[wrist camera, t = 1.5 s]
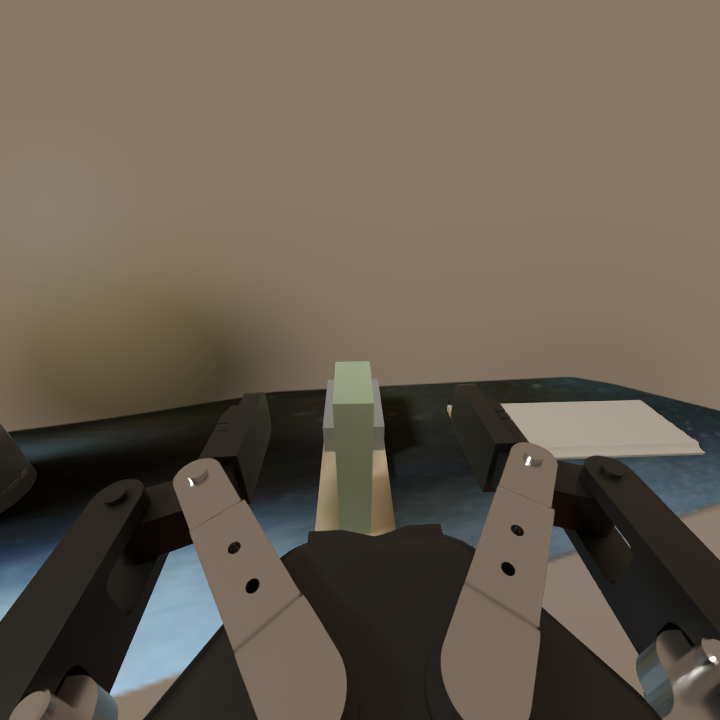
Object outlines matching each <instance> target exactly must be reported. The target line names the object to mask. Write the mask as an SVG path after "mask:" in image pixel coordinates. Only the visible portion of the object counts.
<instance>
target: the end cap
mask: <svg viewBox="0 0 720 720" xmlns="http://www.w3.org/2000/svg"><path fill="white" fill-rule="evenodd" d="M372 388H373V397H374V430H373V451H375V450H383V447H384V420H383V413H382V406H381V399H380V392H379V385H378V379H372ZM333 390H334V380H328V385H327V394H326V403H325V412H324V422H323V436H324V448H325V452H334V451H335V439H334V422H333V405H332V403H333Z"/></svg>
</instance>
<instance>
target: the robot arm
mask: <svg viewBox="0 0 720 720" xmlns="http://www.w3.org/2000/svg"><path fill="white" fill-rule="evenodd" d="M451 424H452V427H453V430H454V432H455V434H456V436H457V438H458V440H459V442H460V445H461V447H462V449H463V451H464V453H465V455H466V457H467V459H468V461H469V464H470V466H471V468H472V470H473V472H474V474H475V476H476V478H477V480H478V483H479V485H480V487H481V489H482V491H483V492H493V491H494V492H495V496H494V499H493V502H492V504H491V507H490V510H489V513H488V516H487V519H486V522H485V525H484V528H483V531H482V534H481V537H480V539H479V542H478V545H477V548H476V549H474V548H473V547H472V546H470V545H468V544H466V543H465V542H463V541H461V540H458V539H456V538H453V537H450V536H446V535H443V533H442V529H441V526H440V524H427V525H411V526H406V527H403V528H400V529H397V530H394V531H391V532H388V533H385V534H382V535H378V536H371V535H366V534H361V533H356V532H351V531H346V530H328V531H311V532H309V535H308V543H306V544H303V545H301V546H298V547H296V548H294V549H293V550H291V551H289V552H288V553H286V554H285V555H284V556H282V557H281V558H279V556H278V555H277V553H276V551H275V550H274V548H273V546H272V545H271V543H270V541H269V540H268V538H267V536H266V534H265V533H264V531H263V529H262V528H261V526H260V524H259V523H258V521H257V519H256V518H255V516H254V514H253V513H252V511H251V509H250V508H249V506H248V504H251V501H252V498H253V494H254V491H255V487H256V484H257V480H258V477H259V474H260V470H261V467H262V463H263V460H264V457H265V453H266V450H267V446H268V443H269V439H270V436H271V419H270V414H269V409H268V404H267V399H266V395H265V393H264V392H256V393H245V394H244V396H243V398H242V400H241V402H240V404H239V405H234V406H231V407H230V408H229V409H228V410H226V411H225V412H224V413H223V414H222V416H221V418H220V420H219V421H218V425H216V427H215V429H214V432H213V433H212V434H211V436H210V438H209V440H208V442H207V444H206V445H205V447H204V449H203V451H202V453H201V455H200V457H199V458H198V460H196V461H193V462H191V463H189V464H187V465H186V466H184V467H183V468H182V469H181V470H180V471H179V472H178V473H177V474H176V476H175V478H174V480H171V481H168V482H165V483H161V484H158V485H155V486H151V487H148V488H145V487H144V485H143V483H142V482H141V481H139V480H137V479H125V480H121V481H118V482H115V483H113V484H111V485H109V486H107V487H106V488H104V489H103V490H101V491H100V492H99V493H98V494H96V495H95V496H94V497H93V499H92V500H91V501H90V502H89V504H88V505H87V506H86V508H85V509H84V510H83V512H82V513H81V514H80V516H79V517H78V518H77V520H76V521H75V522H74V524H73V525H72V526H71V528H70V529H69V530H68V532H67V533H66V534H65V536H64V537H63V538H62V540H61V541H60V543H59V544H58V545H57V547H56V548H55V549H54V551H53V552H52V553H51V555H50V556H49V557H48V559H47V560H46V561H45V563H44V564H43V565H42V567H41V568H40V569H39V571H38V572H37V573H36V575H35V576H34V577H33V579H32V580H31V581H30V583H29V584H28V585H27V587H26V588H25V589H24V591H23V592H22V593H21V595H20V596H19V597H18V599H17V600H16V601H15V603H14V604H13V605H12V607H11V608H10V609H9V611H8V612H7V613H6V615H5V616H4V617H3V619H2V620H1V622H0V720H118V707H117V704H116V701H115V699H114V698H113V697H112V696H111V695H110V691H111V689H112V687H113V684H114V682H115V679H116V677H117V675H118V672H119V670H120V668H121V665H122V663H123V660H124V658H125V656H126V653H127V651H128V649H129V646H130V644H131V641H132V639H133V637H134V634H135V632H136V630H137V627H138V625H139V622H140V620H141V618H142V615H143V613H144V611H145V608H146V606H147V603H148V601H149V599H150V596H151V594H152V592H153V589H154V587H155V584H156V582H157V580H158V577H159V575H160V573H161V570H162V568H163V565H164V563H165V561H166V558H167V556H168V554H169V552H171V551H174V550H177V549H179V548H182V547H185V546H188V545H190V544H193V543H194V546H195V549H196V551H197V554H198V557H199V559H200V562H201V565H202V567H203V570H204V573H205V575H206V578H207V581H208V584H209V586H210V589H211V592H212V594H213V597H214V600H215V602H216V605H217V608H218V611H219V613H220V616H221V619H222V621H223V625H222V626H221V627H220V628H219V630H218V631H217V632H216V633H215V634H214V635H213V637H212V638H211V639H210V640H209V641H208V643H207V644H206V645H205V646H204V647H203V649H202V650H201V651H200V652H199V653H198V655H197V656H196V657H195V658H194V659H193V661H192V662H191V663H190V664H189V665H188V666H187V668H186V669H185V670H184V671H183V672H182V674H181V675H180V676H179V677H178V678H177V680H176V681H175V682H174V683H173V684H172V686H171V687H170V688H169V689H168V690H167V691H166V693H165V694H164V695H163V696H162V697H161V699H160V700H159V701H158V702H157V703H156V705H155V706H154V707H153V708H152V710H151V711H150V712H149V713H148V714H147V715H146V717H145V718H144V719H143V720H720V560H719V559H718V558H717V557H716V556H715V555H714V554H713V553H712V552H711V551H710V550H709V549H708V548H707V547H706V546H705V545H704V544H703V543H702V542H701V541H700V539H699V538H698V537H697V536H696V535H695V534H694V533H693V532H692V531H691V530H690V529H689V528H688V527H687V526H686V525H685V524H684V523H683V522H682V521H681V520H680V519H679V518H678V517H677V516H676V515H675V514H674V513H673V512H672V511H671V510H670V509H669V508H668V507H667V506H666V504H665V503H664V502H663V501H662V500H661V499H660V498H659V497H658V496H657V495H656V494H655V493H654V492H653V491H652V490H651V489H650V488H649V487H648V486H647V485H646V484H645V483H644V482H643V481H642V480H641V479H640V478H639V477H638V476H637V475H636V474H635V473H634V472H633V471H632V470H631V469H630V468H629V467H627V466H626V465H624V464H623V463H621V462H619V461H617V460H615V459H612V458H609V457H606V456H599V455H595V456H590V457H588V458H587V459H586V460H585V463H584V465H583V466H582V465H577V464H571V463H566V462H561V461H557V460H556V458H555V457H554V456H553V455H552V454H551V453H550V452H549V451H548V450H546V449H545V448H543V447H541V446H539V445H536V444H533V443H529V441H528V440H527V439H526V437H525V436H524V435H523V433H522V432H521V431H520V429H519V428H518V427H517V425H516V424H515V423H514V421H513V420H512V419H511V417H510V416H509V415H508V413H507V412H505V409H504V408H503V407H502V405H501V404H500V403H499V402H498V401H497V400H495V399H494V398H492V397H491V396H489V395H483V394H482V392H481V391H480V389H479V388H478V386H477V385H476V384H457V385H456V386H455V390H454V397H453V403H452V409H451ZM36 477H37V471H36V470H35V468H34V467H33V466H32V464H31V463H30V462H29V460H28V459H27V458H26V456H25V455H24V454H23V452H22V451H21V450H20V448H19V447H18V446H17V444H16V443H15V442H14V440H13V439H12V438H11V436H10V435H9V434H8V432H7V431H6V430H5V429H4V427H3V426H2V425H1V423H0V513H2V512H4V511H5V510H7V509H8V508H9V507H11V506H12V505H14V504H15V503H16V502H17V501H18V500H20V499H21V498H22V497H23V496H24V495H25V494H26V493H27V492H28V491H29V490H30V489H31V487H32V486H33V484H34V483H35V480H36ZM553 526H557V527H561V528H563V529H564V530H565V532H566V534H567V535H568V537H569V539H570V540H571V542H572V544H573V545H574V547H575V549H576V550H577V552H578V554H579V555H580V557H581V559H582V560H583V562H584V564H585V565H586V567H587V569H588V570H589V572H590V574H591V575H592V577H593V579H594V580H595V582H596V584H597V586H598V587H599V589H600V590H601V592H602V594H603V595H604V597H605V599H606V601H607V602H608V604H609V606H610V607H611V609H612V611H613V612H614V614H615V616H616V617H617V619H618V621H619V622H620V624H621V626H622V627H623V629H624V631H625V632H626V634H627V636H628V637H629V639H630V641H631V642H632V644H633V646H634V647H635V649H636V651H637V652H638V654H639V656H638V658H637V662H636V670H637V675H638V678H639V681H640V682H641V685H642V687H643V690H644V697H645V699H644V698H643V697H642V696H641V695H640V694H639V693H638V692H637V691H636V690H635V689H634V688H633V687H632V686H631V685H629V684H628V683H627V682H626V681H625V680H624V679H622V678H621V677H620V676H619V675H618V674H617V673H616V672H615V671H614V670H612V669H611V668H610V667H609V666H608V665H607V664H606V663H604V662H603V661H602V660H601V659H600V658H599V657H598V656H597V655H596V654H594V653H593V652H592V651H591V650H590V649H589V648H588V647H586V646H585V645H584V644H583V643H582V642H581V641H579V639H577V638H576V637H575V636H574V635H573V634H572V633H571V632H569V631H568V630H567V629H566V628H565V627H564V626H563V625H562V624H560V623H559V622H558V621H557V620H556V619H555V618H554V617H552V616H551V615H550V614H549V613H548V612H547V611H546V610H545V609H543V608H542V600H543V593H544V586H545V579H546V572H547V565H548V557H549V550H550V543H551V536H552V528H553ZM615 526H616V527H617V528H618V530H619V531H620V532H621V534H622V535H623V536H624V538H625V539H626V540H627V542H628V543H629V545H630V547H631V548H630V547H629V546H628V544H627V543H626V542H625V540H624V539H623V538H622V537H621V535H620V534H619V533H618V531H617V530H616V529H615Z"/></svg>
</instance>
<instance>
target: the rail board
mask: <svg viewBox="0 0 720 720" xmlns="http://www.w3.org/2000/svg"><path fill="white" fill-rule="evenodd" d="M328 530H340V523H339V506H338V489H337V472H336V456H335V451H334V452H325V448H324V445H323V455H322V465H321V475H320V485H319V495H318V505H317V515H316V525H315V531H328ZM394 530H396V527H395V519H394V512H393V504H392V497H391V489H390V482H389V474H388V467H387V459H386V452H385V444H384V447H383V450H375V451H373V469H372V509H371V533H370V534H366V535H371V536H378V535H382V534H385V533H388V532H391V531H394Z"/></svg>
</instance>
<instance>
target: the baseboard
mask: <svg viewBox="0 0 720 720" xmlns="http://www.w3.org/2000/svg"><path fill="white" fill-rule="evenodd" d="M448 404H450V403H449V401H448ZM501 405H502V407H503V408H504V409H505V412H507V413H508V415H509V416H510V417H511V419H512V420H513V421H514V423H515V424H516V425H517V427H518V428H519V429H520V431H521V432H522V433H523V435H524V436H525V437H526V439H527V440H528V441H529V443H533V444H536V445H539V446H541V447H543V448H545V449H546V450H548V451H549V452H550V453H551V454H552V455H553V456H554V457H555V458H556V459H585V458H588V457H590V456H595V455H599V456H606V457H609V458H615V457H644V456H674V455H703V454H705V452H704V451H702V450H701V448H700V447H699V443H698V442H697V441H696V440H694V439H692V438H691V437H689V436H688V435H686V434H685V432H683V431H681V430H680V429H678V428H677V427H675V426H674V424H672V423H670V422H669V421H667V420H666V419H664V417H663V416H660V415H659V414H658V413H656V412H655V411H654V410H653V409H652V408H650V407H649V406H648V405H646V404H645V403H643V402H642V401H641V400H627V401H590V402H552V403H514V404H501ZM451 409H452V405H448V407H447V411H448V413H449V415H450V418H451Z"/></svg>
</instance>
